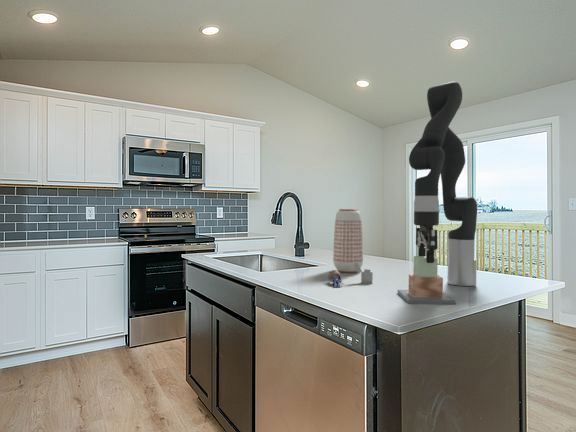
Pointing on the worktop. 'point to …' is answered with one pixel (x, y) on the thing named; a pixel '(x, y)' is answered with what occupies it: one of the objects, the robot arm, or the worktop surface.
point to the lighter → (364, 274)
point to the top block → (424, 267)
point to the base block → (425, 286)
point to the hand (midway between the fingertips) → (425, 260)
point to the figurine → (335, 278)
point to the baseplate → (426, 298)
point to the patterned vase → (348, 240)
